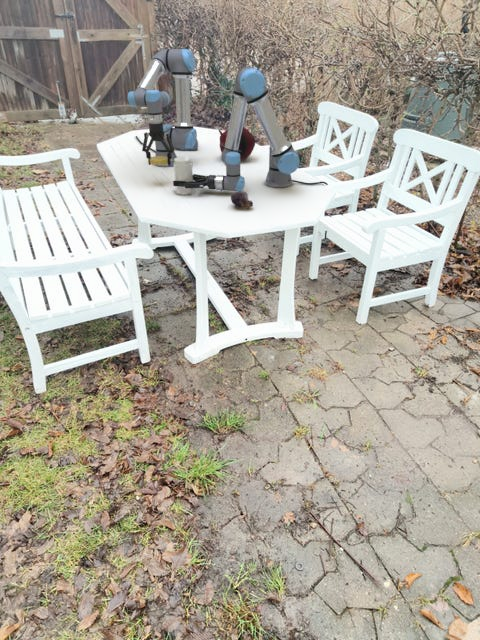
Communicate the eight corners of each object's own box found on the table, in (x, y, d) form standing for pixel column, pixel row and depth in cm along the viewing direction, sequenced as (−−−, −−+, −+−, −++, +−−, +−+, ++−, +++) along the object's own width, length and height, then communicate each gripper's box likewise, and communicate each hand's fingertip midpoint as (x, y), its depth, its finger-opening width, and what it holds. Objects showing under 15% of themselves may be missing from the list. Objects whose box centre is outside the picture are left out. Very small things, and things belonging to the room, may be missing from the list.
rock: (244, 204, 234) (227, 207, 230) (243, 188, 230) (225, 190, 226) (255, 208, 224) (237, 211, 220) (254, 190, 221) (236, 193, 216)
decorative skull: (216, 132, 305) (216, 129, 282) (250, 124, 304) (252, 121, 281) (223, 164, 312) (223, 164, 288) (256, 157, 311) (259, 156, 288)
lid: (146, 161, 254) (146, 157, 252) (164, 159, 258) (164, 154, 257) (154, 166, 246) (154, 161, 245) (172, 163, 251) (172, 159, 249)
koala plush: (198, 150, 320) (196, 121, 309) (173, 151, 319) (170, 122, 308) (198, 145, 335) (196, 116, 324) (174, 145, 334) (171, 117, 322)
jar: (197, 192, 247) (194, 159, 237) (180, 195, 243) (177, 162, 233) (188, 187, 254) (186, 155, 244) (173, 190, 250) (169, 158, 240)
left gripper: (132, 123, 239) (138, 165, 251) (174, 124, 236) (177, 167, 248) (137, 120, 245) (142, 162, 257) (178, 121, 242) (181, 163, 254)
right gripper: (211, 196, 235) (170, 193, 239) (221, 182, 253) (183, 180, 257) (210, 182, 231) (169, 179, 234) (220, 169, 249) (182, 167, 253)
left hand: (159, 164), depth 253 cm, fingers closed on lid, 11 cm apart
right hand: (176, 180), depth 246 cm, fingers closed on jar, 10 cm apart
